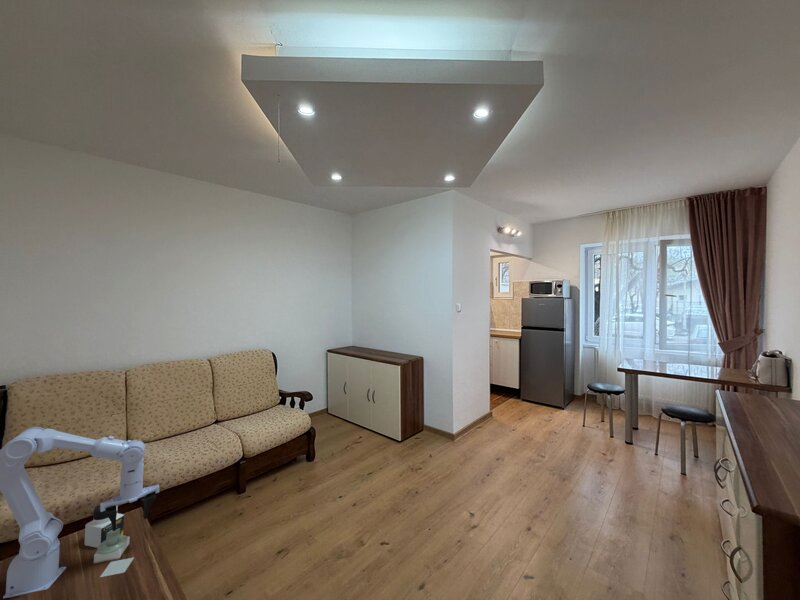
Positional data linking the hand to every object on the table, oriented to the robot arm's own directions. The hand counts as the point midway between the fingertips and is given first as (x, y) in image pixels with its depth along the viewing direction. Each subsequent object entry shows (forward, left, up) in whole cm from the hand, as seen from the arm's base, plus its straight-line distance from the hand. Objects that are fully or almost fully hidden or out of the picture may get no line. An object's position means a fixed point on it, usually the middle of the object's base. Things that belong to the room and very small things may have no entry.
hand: (130, 523), depth 102 cm
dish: (-5, +2, -10) cm, 11 cm away
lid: (-5, +1, -7) cm, 8 cm away
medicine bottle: (-11, +10, -10) cm, 18 cm away
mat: (-1, -5, -10) cm, 11 cm away
